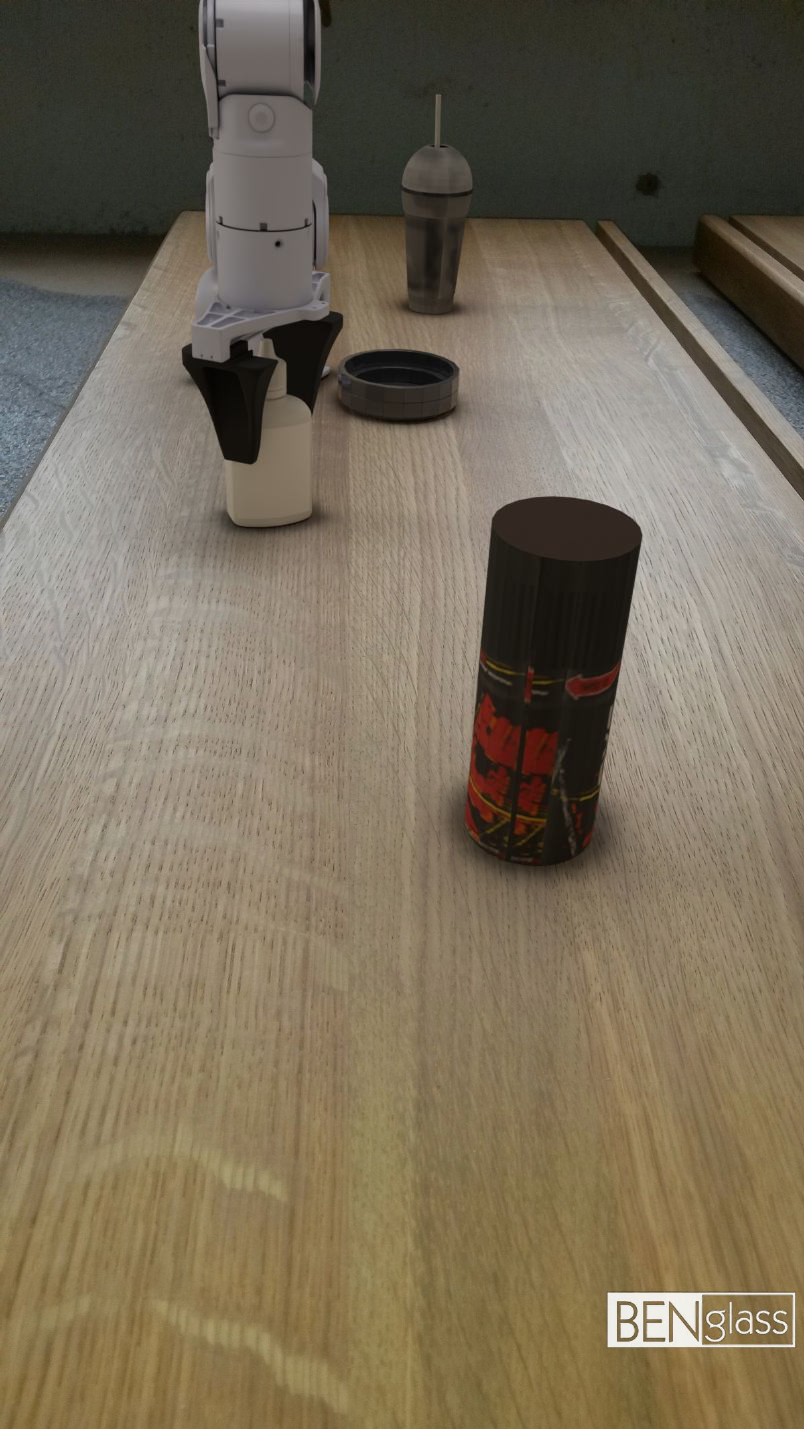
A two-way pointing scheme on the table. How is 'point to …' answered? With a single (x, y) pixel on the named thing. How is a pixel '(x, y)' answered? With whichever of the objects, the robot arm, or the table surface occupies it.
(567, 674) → the deodorant
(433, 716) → the table surface
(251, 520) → the eye dropper bottle
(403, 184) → the beverage cup
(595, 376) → the table surface
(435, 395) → the dish
